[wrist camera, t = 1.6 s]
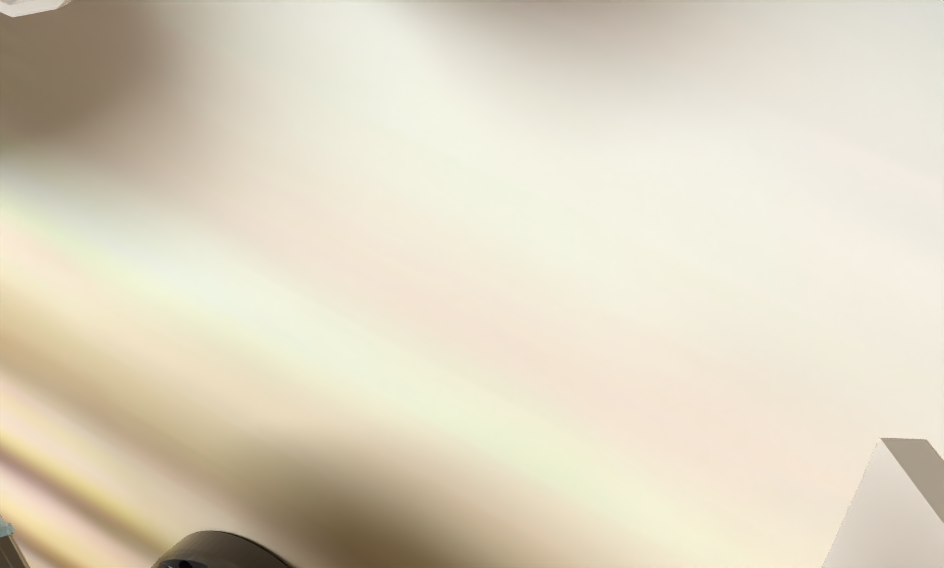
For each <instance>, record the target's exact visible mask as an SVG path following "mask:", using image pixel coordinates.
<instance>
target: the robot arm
mask: <svg viewBox="0 0 944 568" xmlns="http://www.w3.org/2000/svg"><path fill="white" fill-rule="evenodd" d="M14 532H15V529H14V527H13V526H12V524H11V523H7V522H4V520H3V519H2V517H1V515H0V568H30V566H29V564H28V563H27V561H26V559H25V557H24V556H23V554H22V552H21V550H20V548H19V547H18V545H17V543H16V541H15V539H14V538H13V536H12V534H13V533H14ZM152 568H288V567H287V566H286V565H284V564H283V563H282V562H281V561H279V560H278V559H277V558H275V557H274V556H272V555H271V554H269V553H268V552H266V551H265V550H263V549H262V548H260V547H258V546H257V545H255V544H253V543H251V542H249V541H247V540H244V539H242V538H240V537H237V536H234V535H231V534H227V533H223V532H217V531H201V532H196V533H193V534H190V535H188V536H186V537H185V538H183V539H182V540H181V541H180V542H179V543H177V544H176V545H175V546H174V547H173V548H171V549H170V550H169V551H168V552H167V553H165V554H164V555H163V556H162V557H161V558H159V559H158V561H157V562H156V563H155V564H154V565H153V566H152ZM822 568H944V461H943V459H942V458H941V457H940V456H939V454H938V453H937V452H936V451H935V449H934V448H933V447H932V446H931V445H930V443H929V442H928V441H927V440H924V439H898V438H880V439H879V441H878V443H877V445H876V448H875V450H874V452H873V454H872V457H871V459H870V461H869V463H868V465H867V468H866V470H865V472H864V474H863V477H862V479H861V481H860V483H859V485H858V488H857V490H856V492H855V494H854V497H853V499H852V501H851V503H850V506H849V508H848V510H847V512H846V514H845V517H844V519H843V521H842V523H841V526H840V528H839V530H838V532H837V535H836V537H835V539H834V541H833V543H832V546H831V548H830V550H829V552H828V555H827V557H826V559H825V561H824V564H823V566H822Z"/></svg>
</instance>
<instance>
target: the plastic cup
mask: <svg viewBox="0 0 944 568" xmlns="http://www.w3.org/2000/svg"><path fill="white" fill-rule="evenodd" d="M71 1H72V0H0V12H1V13H4V14H6V15H8V16H11V17H18V16H23V15H28V14H33V13H39V12H44V11H49V10H54V9H58V8H60V7H63V6H65V5H67V4H69V3H70V2H71Z"/></svg>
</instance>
